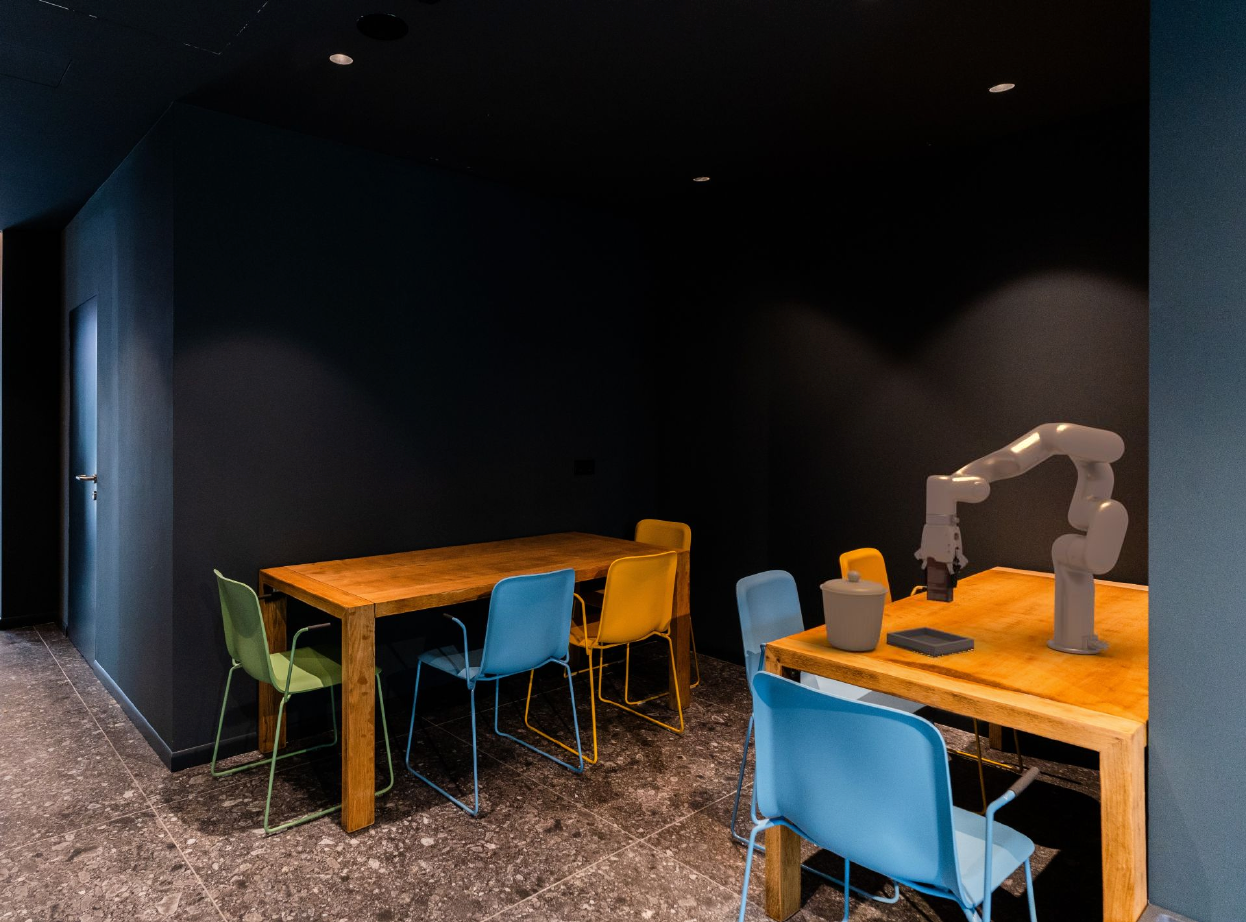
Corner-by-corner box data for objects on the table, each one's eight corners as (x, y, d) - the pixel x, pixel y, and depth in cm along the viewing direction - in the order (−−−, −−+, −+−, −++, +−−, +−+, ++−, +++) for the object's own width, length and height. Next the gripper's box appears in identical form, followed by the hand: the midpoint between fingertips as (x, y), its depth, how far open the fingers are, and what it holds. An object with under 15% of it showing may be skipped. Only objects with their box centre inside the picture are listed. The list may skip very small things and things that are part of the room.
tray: (973, 650, 206) (974, 639, 206) (934, 657, 198) (934, 646, 198) (924, 636, 220) (925, 626, 220) (886, 643, 212) (886, 633, 212)
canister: (858, 636, 220) (859, 564, 220) (902, 652, 204) (903, 574, 203) (806, 641, 214) (807, 567, 213) (846, 658, 197) (847, 578, 197)
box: (953, 601, 206) (954, 557, 206) (948, 603, 203) (949, 559, 202) (931, 598, 210) (932, 554, 210) (925, 600, 207) (926, 556, 206)
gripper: (978, 522, 200) (977, 589, 201) (922, 517, 215) (921, 579, 216) (961, 524, 197) (959, 592, 197) (905, 518, 211) (904, 581, 212)
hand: (940, 585), depth 206 cm, fingers closed on box, 6 cm apart
